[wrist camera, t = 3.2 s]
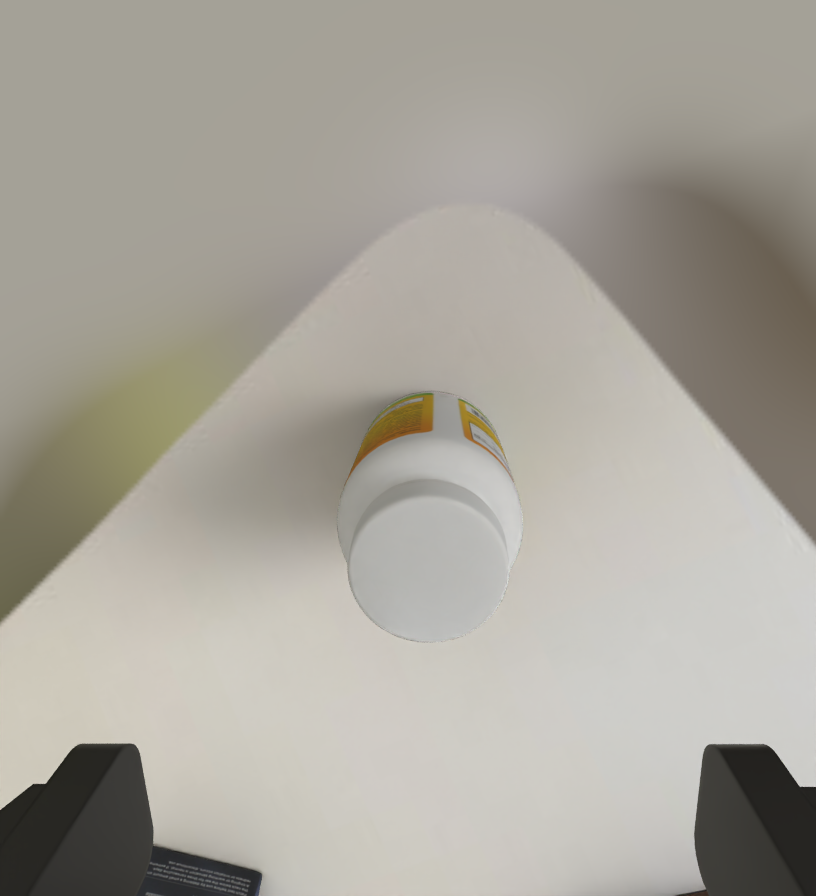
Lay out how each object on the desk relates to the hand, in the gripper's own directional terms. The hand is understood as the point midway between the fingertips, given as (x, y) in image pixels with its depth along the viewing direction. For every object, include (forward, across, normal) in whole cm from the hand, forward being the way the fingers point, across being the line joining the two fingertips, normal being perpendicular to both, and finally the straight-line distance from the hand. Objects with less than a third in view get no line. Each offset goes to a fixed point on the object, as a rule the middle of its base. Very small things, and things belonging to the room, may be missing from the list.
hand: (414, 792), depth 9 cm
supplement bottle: (+17, 0, 0) cm, 17 cm away
